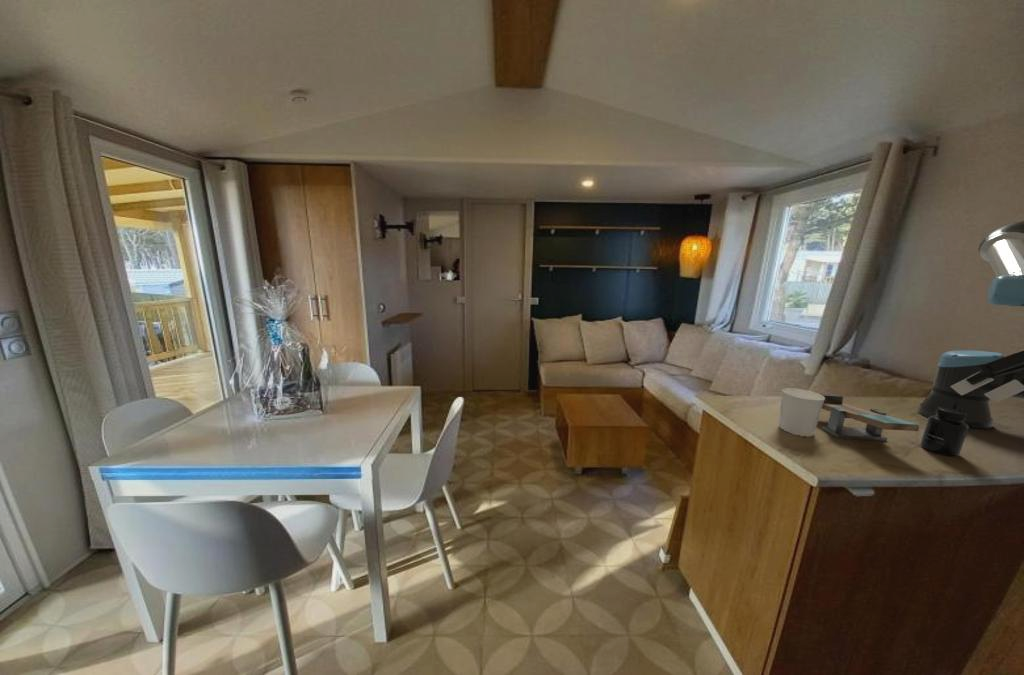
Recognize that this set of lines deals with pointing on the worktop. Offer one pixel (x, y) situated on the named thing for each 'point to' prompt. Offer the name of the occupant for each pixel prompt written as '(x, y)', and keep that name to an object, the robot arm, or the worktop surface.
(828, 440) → the worktop surface
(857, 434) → the stand
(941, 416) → the supplement bottle
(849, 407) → the beam
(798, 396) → the white cylinder
